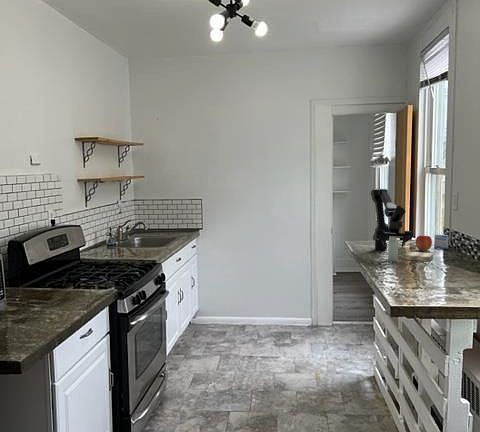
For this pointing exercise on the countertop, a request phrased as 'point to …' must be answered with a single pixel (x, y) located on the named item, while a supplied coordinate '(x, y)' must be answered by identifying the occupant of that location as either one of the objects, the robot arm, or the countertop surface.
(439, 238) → the medicine box
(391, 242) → the sage bottle
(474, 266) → the countertop surface
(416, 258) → the birch pad
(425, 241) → the apple
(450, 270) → the countertop surface
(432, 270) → the countertop surface
